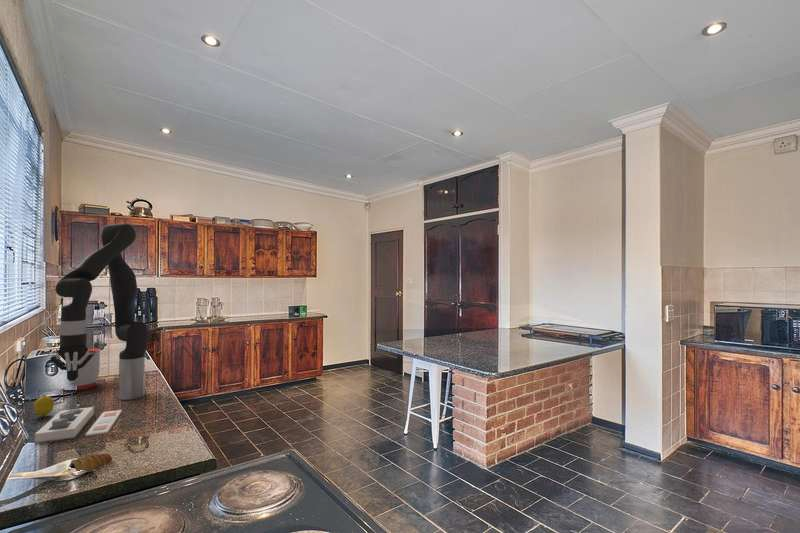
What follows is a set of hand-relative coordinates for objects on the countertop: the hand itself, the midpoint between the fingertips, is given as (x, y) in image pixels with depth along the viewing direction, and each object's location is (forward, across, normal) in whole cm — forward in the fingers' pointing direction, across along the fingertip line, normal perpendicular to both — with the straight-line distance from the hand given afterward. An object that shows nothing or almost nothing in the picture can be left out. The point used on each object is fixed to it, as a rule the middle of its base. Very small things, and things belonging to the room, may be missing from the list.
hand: (72, 380), depth 144 cm
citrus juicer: (+15, +11, -50) cm, 53 cm away
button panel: (+15, 0, +6) cm, 16 cm away
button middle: (+13, 0, +6) cm, 14 cm away
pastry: (+16, -16, +44) cm, 49 cm away
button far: (+14, 0, -1) cm, 14 cm away
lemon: (+15, +11, -11) cm, 22 cm away
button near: (+13, 0, +13) cm, 18 cm away
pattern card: (+15, -11, +6) cm, 20 cm away
